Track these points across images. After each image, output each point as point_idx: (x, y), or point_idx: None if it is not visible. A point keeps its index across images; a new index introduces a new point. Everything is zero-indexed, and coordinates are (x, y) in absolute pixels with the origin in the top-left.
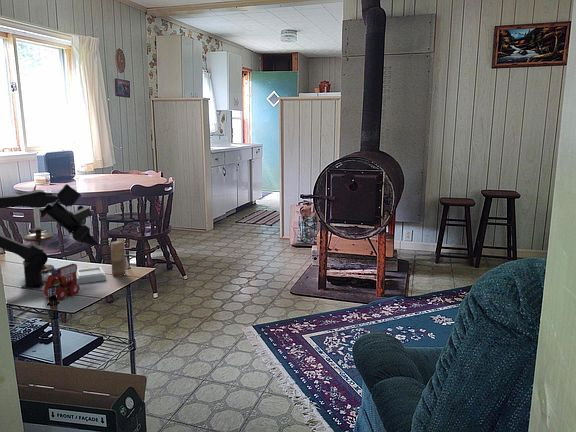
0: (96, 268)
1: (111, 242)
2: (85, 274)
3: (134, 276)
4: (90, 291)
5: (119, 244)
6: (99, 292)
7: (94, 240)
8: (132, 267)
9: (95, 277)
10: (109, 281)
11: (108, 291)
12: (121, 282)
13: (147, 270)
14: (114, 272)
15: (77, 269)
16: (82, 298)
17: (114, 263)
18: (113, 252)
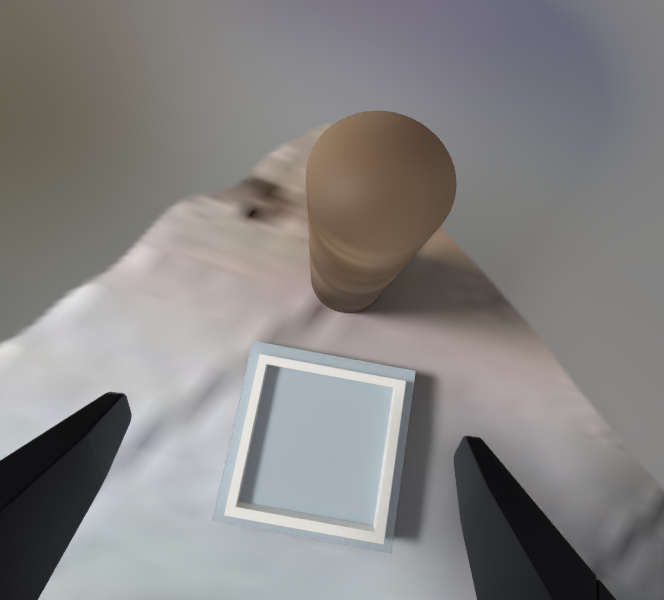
0: (262, 381)
1: (335, 226)
2: (330, 476)
3: None
4: (556, 506)
5: (454, 183)
6: (595, 467)
7: (540, 517)
8: (264, 173)
9: (405, 431)
10: (439, 361)
11: (601, 421)
12: (490, 314)
13: None
14: (370, 303)
15: (227, 510)
16: (649, 579)
17: (384, 288)
18: (401, 267)
